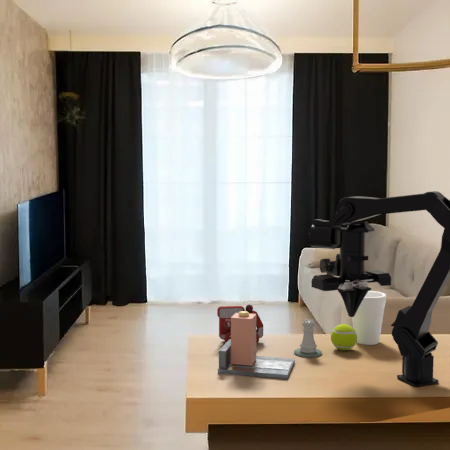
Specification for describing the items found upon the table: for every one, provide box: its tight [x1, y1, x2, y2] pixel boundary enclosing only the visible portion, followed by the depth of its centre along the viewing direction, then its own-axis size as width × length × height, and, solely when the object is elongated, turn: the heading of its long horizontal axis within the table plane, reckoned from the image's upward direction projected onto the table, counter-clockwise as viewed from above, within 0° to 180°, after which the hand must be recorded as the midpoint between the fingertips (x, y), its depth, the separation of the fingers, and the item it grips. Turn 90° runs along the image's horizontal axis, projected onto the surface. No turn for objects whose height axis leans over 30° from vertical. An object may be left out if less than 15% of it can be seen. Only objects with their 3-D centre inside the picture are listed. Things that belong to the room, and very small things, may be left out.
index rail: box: [217, 339, 296, 380], centre depth 144 cm, size 16×12×5 cm
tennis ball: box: [330, 323, 357, 351], centre depth 159 cm, size 7×7×7 cm
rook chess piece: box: [299, 318, 318, 354], centre depth 155 cm, size 4×4×8 cm
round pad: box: [293, 347, 323, 359], centre depth 156 cm, size 7×7×1 cm
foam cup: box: [351, 290, 387, 346], centre depth 166 cm, size 10×9×13 cm
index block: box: [231, 310, 257, 366], centre depth 145 cm, size 5×5×12 cm
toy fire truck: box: [216, 304, 264, 346], centre depth 165 cm, size 7×12×10 cm, turn 100°
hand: (351, 316), depth 144 cm, fingers closed
